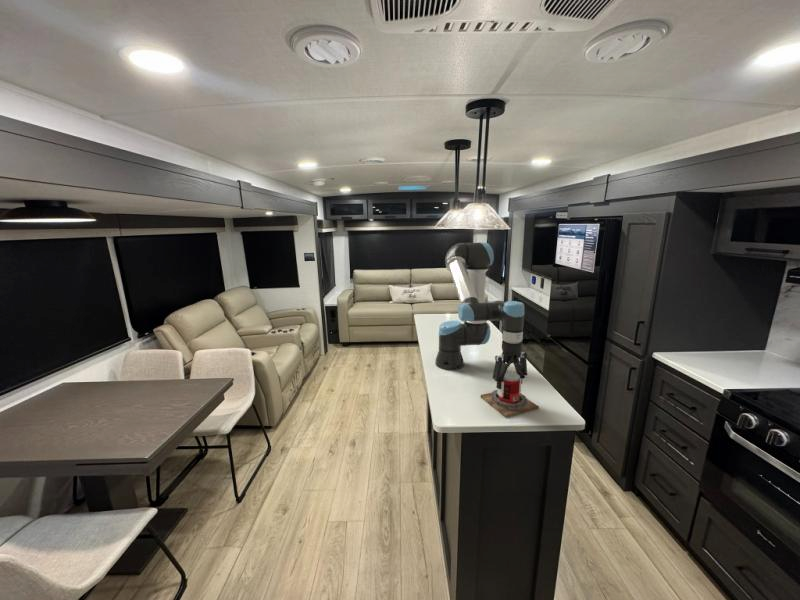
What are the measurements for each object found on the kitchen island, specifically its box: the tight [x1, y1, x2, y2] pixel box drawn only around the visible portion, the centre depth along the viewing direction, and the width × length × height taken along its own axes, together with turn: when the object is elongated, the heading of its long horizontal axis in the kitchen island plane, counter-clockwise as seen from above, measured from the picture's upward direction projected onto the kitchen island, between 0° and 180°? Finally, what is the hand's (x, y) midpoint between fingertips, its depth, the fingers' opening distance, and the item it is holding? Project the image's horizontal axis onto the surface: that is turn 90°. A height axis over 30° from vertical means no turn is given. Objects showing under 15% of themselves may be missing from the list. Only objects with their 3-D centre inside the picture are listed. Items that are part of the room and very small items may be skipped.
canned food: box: [499, 371, 520, 404], centre depth 123 cm, size 8×8×11 cm
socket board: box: [480, 389, 540, 419], centre depth 123 cm, size 16×16×3 cm
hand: (509, 393), depth 123 cm, fingers closed on canned food, 8 cm apart
